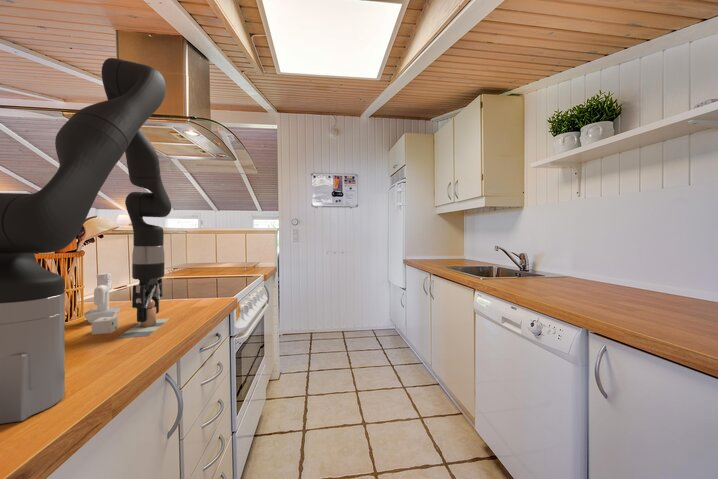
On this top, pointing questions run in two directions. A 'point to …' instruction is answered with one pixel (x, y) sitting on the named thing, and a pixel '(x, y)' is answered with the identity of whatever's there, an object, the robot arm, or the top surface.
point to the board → (142, 330)
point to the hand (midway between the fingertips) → (148, 317)
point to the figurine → (102, 299)
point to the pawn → (150, 315)
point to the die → (104, 325)
